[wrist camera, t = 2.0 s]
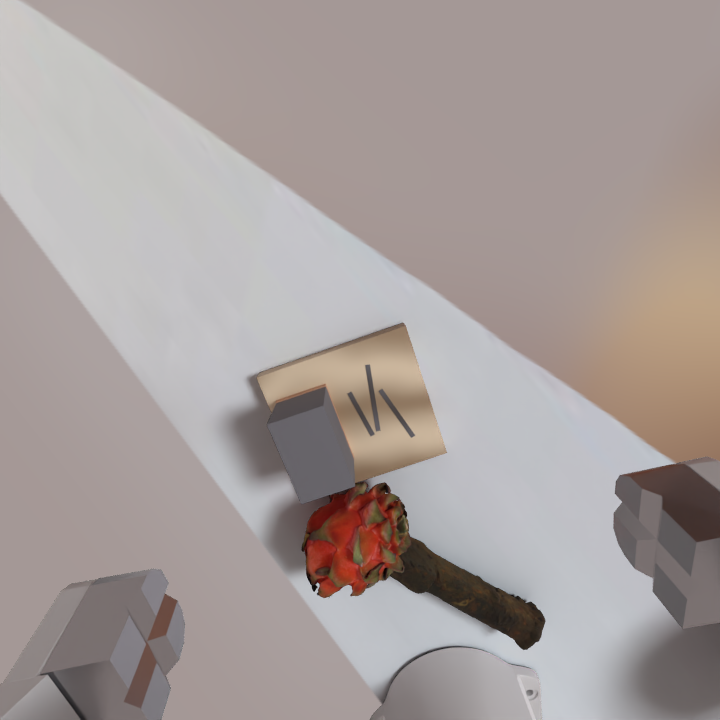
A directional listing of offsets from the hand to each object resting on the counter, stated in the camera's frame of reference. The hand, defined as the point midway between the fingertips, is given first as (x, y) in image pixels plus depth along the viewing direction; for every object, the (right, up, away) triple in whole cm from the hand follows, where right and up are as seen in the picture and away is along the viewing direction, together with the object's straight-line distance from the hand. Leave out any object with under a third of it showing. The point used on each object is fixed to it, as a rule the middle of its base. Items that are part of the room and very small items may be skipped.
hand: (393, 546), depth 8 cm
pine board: (-1, -1, +31) cm, 31 cm away
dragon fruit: (-1, -11, +34) cm, 36 cm away
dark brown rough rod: (+8, -18, +36) cm, 41 cm away
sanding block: (-4, -3, +30) cm, 31 cm away
